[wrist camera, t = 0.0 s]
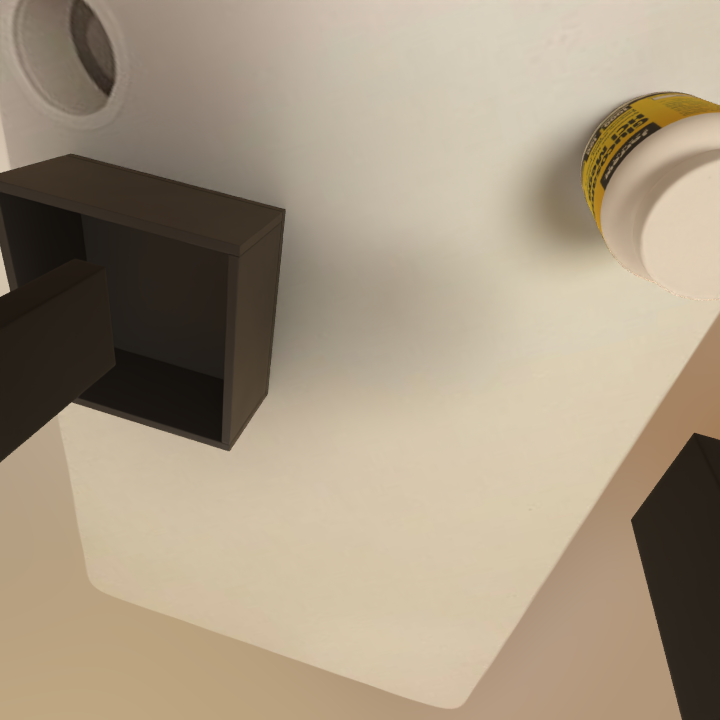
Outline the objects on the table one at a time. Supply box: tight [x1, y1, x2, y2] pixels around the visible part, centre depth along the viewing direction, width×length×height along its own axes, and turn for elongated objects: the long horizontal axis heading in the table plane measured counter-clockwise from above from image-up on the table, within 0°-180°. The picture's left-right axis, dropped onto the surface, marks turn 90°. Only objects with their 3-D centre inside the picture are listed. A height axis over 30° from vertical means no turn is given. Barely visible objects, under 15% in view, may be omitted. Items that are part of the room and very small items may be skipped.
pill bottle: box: [580, 92, 720, 300], centre depth 21 cm, size 6×6×11 cm
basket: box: [0, 154, 285, 451], centre depth 33 cm, size 14×14×6 cm
